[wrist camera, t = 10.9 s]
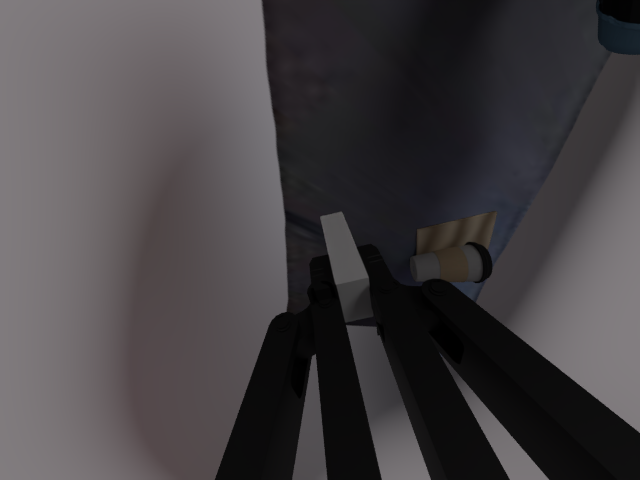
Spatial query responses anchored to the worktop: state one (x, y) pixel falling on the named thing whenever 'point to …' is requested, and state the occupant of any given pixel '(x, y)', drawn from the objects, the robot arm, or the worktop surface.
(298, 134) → the worktop surface
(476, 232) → the brown striped mat
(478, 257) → the coffee cup
